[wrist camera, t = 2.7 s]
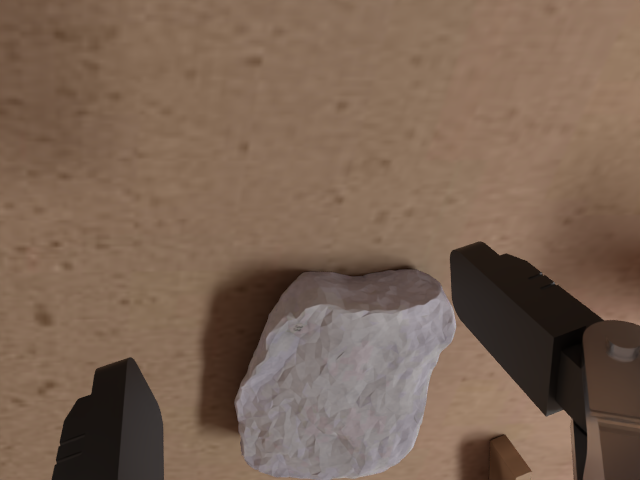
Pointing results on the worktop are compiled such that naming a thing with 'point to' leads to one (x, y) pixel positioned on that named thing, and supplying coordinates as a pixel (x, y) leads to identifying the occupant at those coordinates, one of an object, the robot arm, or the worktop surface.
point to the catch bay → (506, 461)
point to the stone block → (342, 374)
